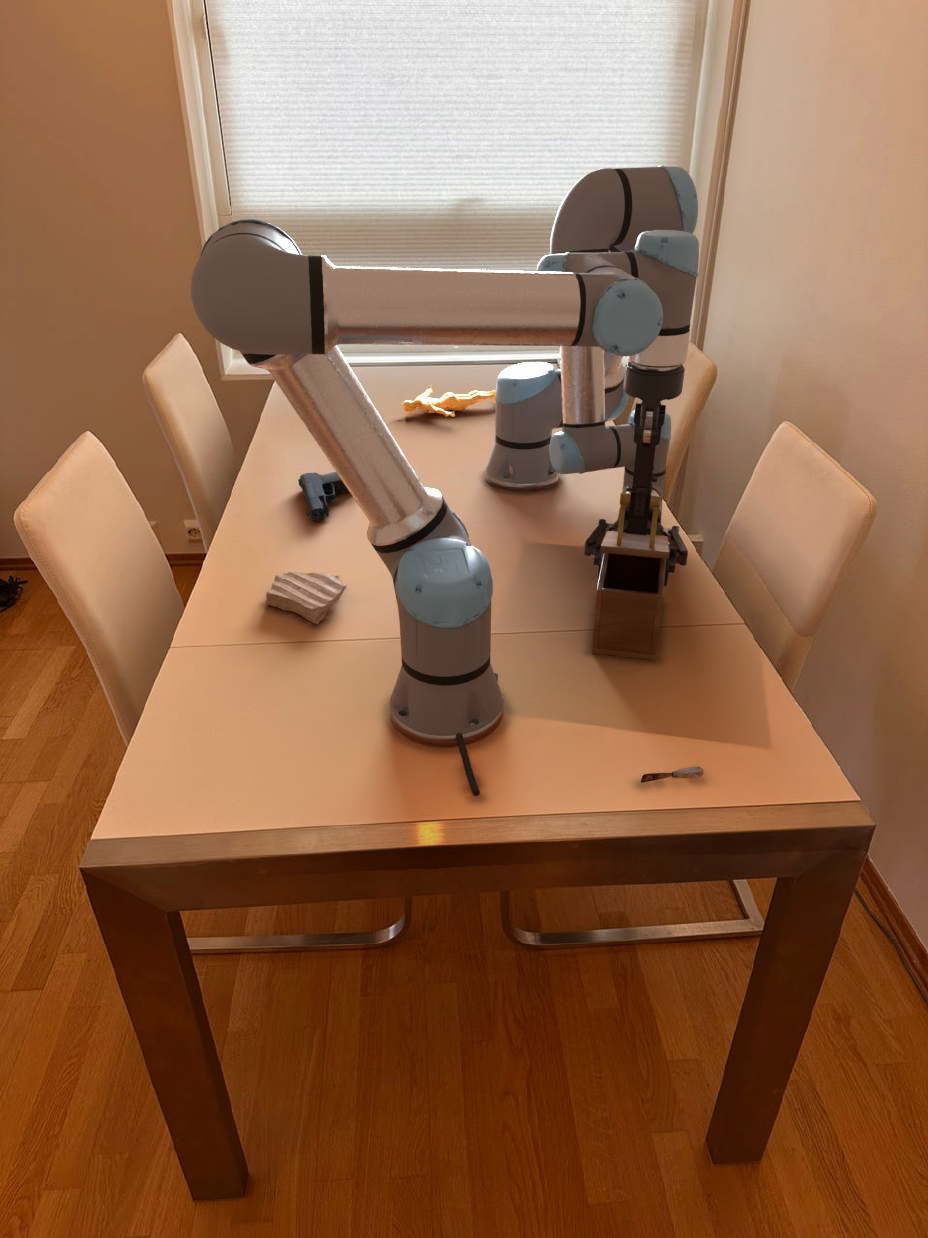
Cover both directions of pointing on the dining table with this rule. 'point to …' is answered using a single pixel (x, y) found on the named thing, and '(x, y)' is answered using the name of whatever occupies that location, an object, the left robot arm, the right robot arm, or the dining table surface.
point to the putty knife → (674, 774)
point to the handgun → (320, 492)
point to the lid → (636, 536)
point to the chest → (628, 606)
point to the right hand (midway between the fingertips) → (632, 575)
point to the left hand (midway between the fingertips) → (637, 529)
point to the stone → (305, 593)
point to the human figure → (446, 402)
